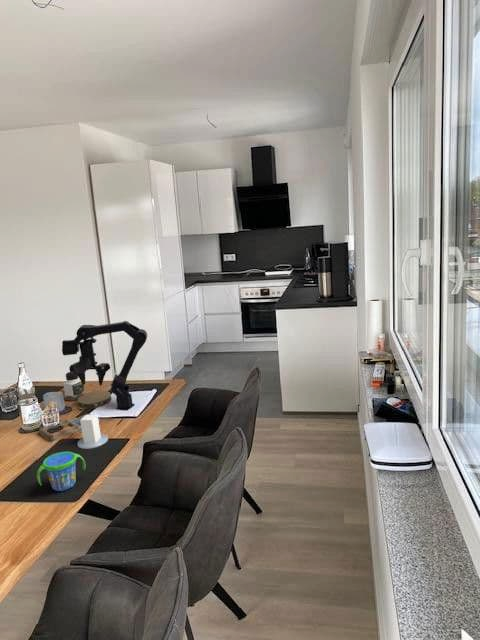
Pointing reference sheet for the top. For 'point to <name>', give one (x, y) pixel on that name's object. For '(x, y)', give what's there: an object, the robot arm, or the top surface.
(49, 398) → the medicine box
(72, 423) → the trap pit
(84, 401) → the brown round slab
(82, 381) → the robot arm
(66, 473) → the snack cup
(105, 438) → the pad
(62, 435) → the walnut channel
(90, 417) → the white block
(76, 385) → the medicine bottle
